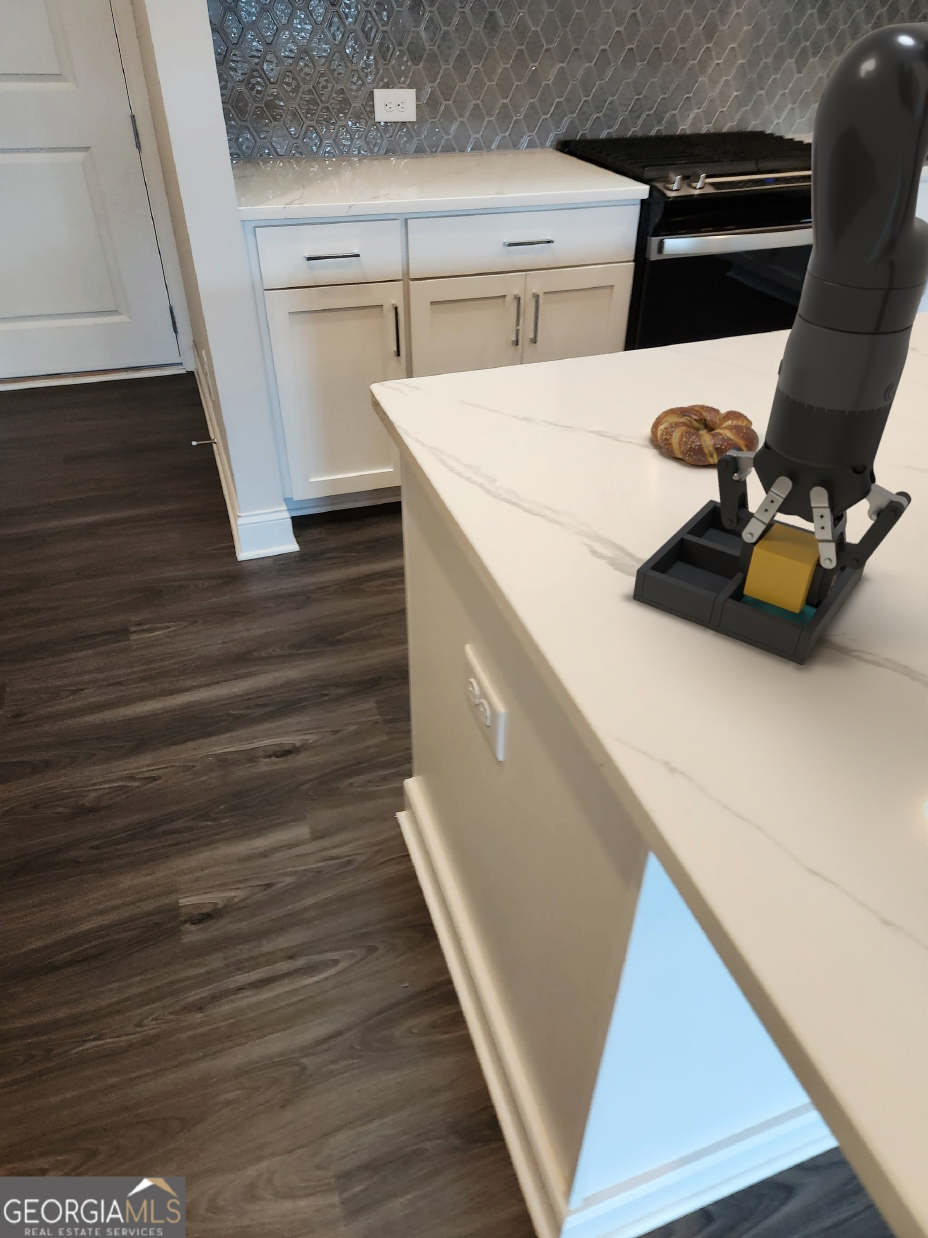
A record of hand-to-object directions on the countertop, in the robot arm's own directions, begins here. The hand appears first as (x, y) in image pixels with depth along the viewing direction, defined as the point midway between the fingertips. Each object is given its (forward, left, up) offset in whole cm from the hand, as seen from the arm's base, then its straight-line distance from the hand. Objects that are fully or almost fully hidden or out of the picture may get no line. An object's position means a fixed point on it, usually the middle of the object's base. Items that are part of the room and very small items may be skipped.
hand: (781, 587), depth 66 cm
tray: (+3, -3, -4) cm, 6 cm away
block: (0, 0, 0) cm, 0 cm away
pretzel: (+18, -26, -4) cm, 32 cm away
